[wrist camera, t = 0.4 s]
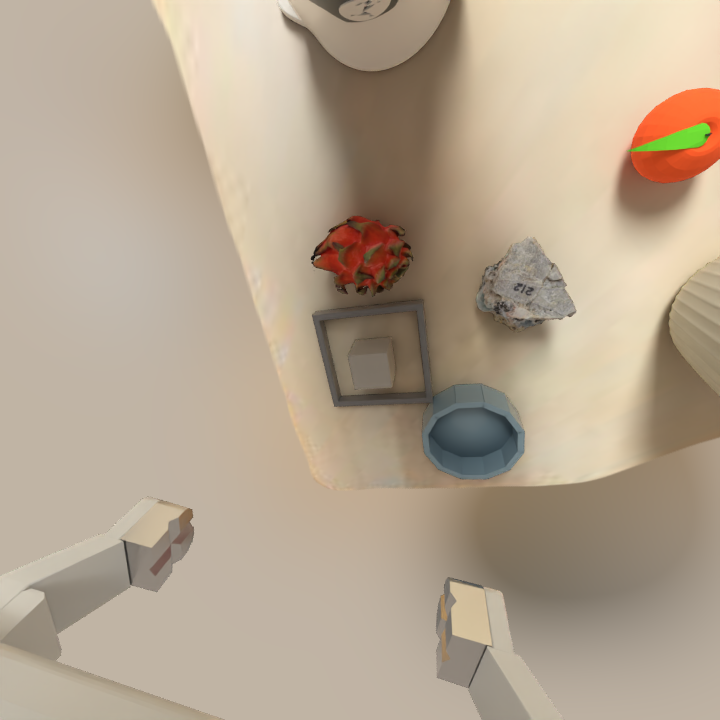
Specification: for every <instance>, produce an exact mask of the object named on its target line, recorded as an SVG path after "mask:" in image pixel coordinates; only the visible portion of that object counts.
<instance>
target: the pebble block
mask: <svg viewBox="0 0 720 720" xmlns="http://www.w3.org/2000/svg"><path fill="white" fill-rule="evenodd" d="M348 360H349V365H350V369H351V374H352V379H353V384H354V388H355V390H358V389H377V388H392V386H393V382H394V377H395V372H396V366H395V359H394V352H393V345H392V339H391V337H384V338H372V339H361V340H355V342H354V344H353V346H352V348H351V350H350V352H349V354H348Z"/></svg>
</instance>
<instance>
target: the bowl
mask: <svg viewBox="0 0 720 720" xmlns="http://www.w3.org/2000/svg"><path fill="white" fill-rule="evenodd" d="M524 437H525V431H524V429H523V426H522V423H521V420H520V417H519V414H518V411H517V410H516V408H515V407H514V406H513V404H512V403H511V402H510V400H509V399H508V398H507V396H506V395H505V394H504V393H502V392H500V391H497V390H495V389H493V388H490V387H488V386H485V385H483V384H463V385H455V386H454V385H453V386H452V387H450V388H448V389H446V390H444V391H442V392H441V393H439V394H437V395H435V396H434V397H433V403H429V405H428V407H427V408H426V410H425V412H424V414H423V424H422V438H423V447H424V453H425V455H426V456H427V457H428V458H429V459H430V460H431V462H432V463H433V464H434V465H435V466H436V467H437V468H438V470H440V471H443V472H445V473H448V474H450V475H452V476H455V477H457V478H460V479H489V478H491V477H494V476H496V475H499V474H501V473H504V472H506V471H509V470H510V469H511V468H512V467H513V466H514V464H515V463H516V462H517V461H518V460H519V458H520V457H521V456H522V455H523V453H524Z"/></svg>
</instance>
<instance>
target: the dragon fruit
mask: <svg viewBox="0 0 720 720" xmlns="http://www.w3.org/2000/svg"><path fill="white" fill-rule="evenodd" d="M335 228H336V229H335ZM328 232H330V234H329V235H328V236H327V238H326V239H325V240H324V241H323V242H321V243H320V244H319V245H318V246H317V247H316V249H315V251H314V255H313V256H312V257H311V260H313V261H314V258H315V256H318V255H321V257H320V258H318V259H316V260H315V261H314V262H312V264H313V265H314V266H315V267H316V268H320V269H323V270H328V271H332V272H334V273H336V274H337V275H338V276H336V277H334V283H335V284H336V288H340V286H341V288H342V289H337V290H338V291H339V292H341V293H344V294H348V293H347V291H346V288H345V285H346V284H349V283H354V284H355V285H356V292H357V293H359V294H361V295H364V294H366V292H367V288H369V289H370V291H371V293H372V297H373V296H375V294H376V292H377V293H380V292H383V290H384V289H387V290H390V289H391V288H392V286H393V283H396V282H397V281H398V280H399V279H401V277H402V276H404V274H405V272H406V270H407V269H408V266H409V260H408V259H407V258H408V257H411V258H412V261H413V256H412V253H411V251H410V249H411V247H410V246H409V245H408V244H407V243H406V242H405V241H403V240H399V237H398V235H399V236H404V235H405V232H406V231H405V229H403V228H401V227H400V226H395V225H389V226H388V227H384V226H382V225H381V224H380V222H379V220H376V221H371V220H368V219H366V218H363V217H361V216H352V217H350V218H348V219H347V220H346V221H344V222H342V223H340V224H339V225H337V226H335V227H333V228H331V229H330V230H329V231H328ZM364 286H366V287H364ZM363 287H364V288H363Z"/></svg>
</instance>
